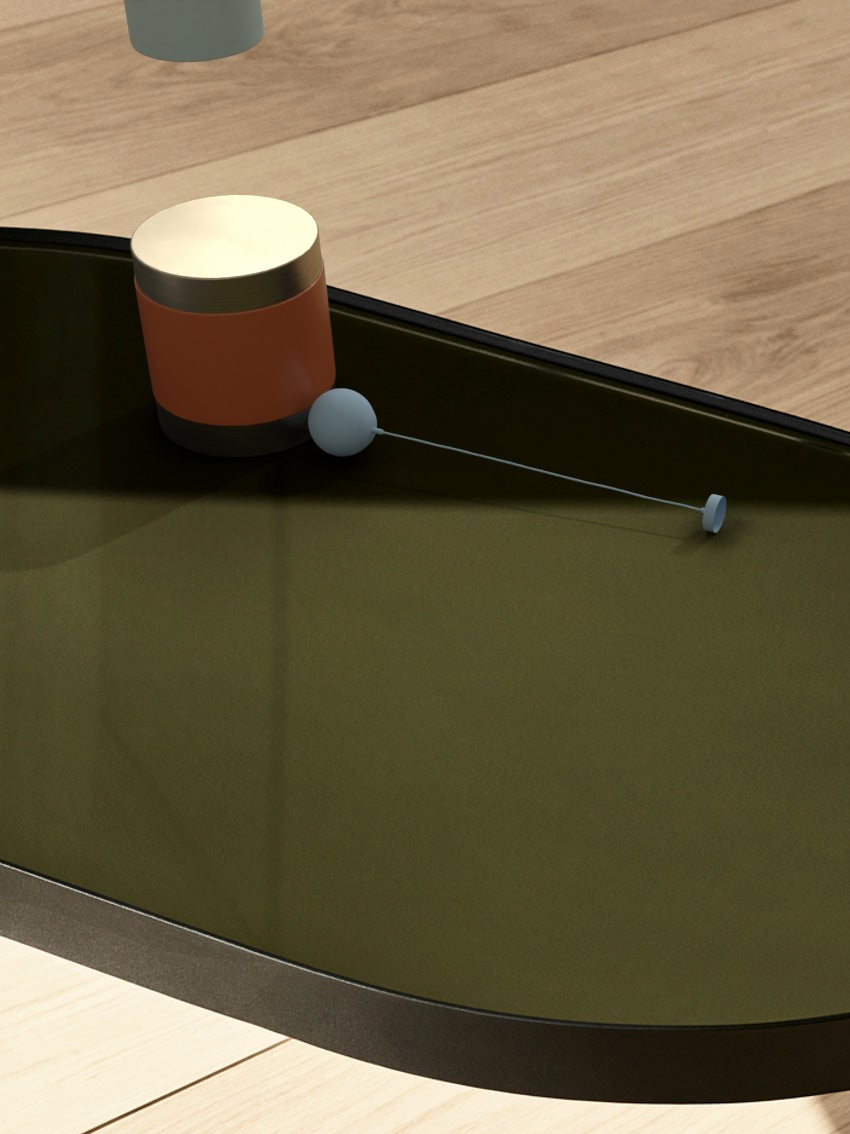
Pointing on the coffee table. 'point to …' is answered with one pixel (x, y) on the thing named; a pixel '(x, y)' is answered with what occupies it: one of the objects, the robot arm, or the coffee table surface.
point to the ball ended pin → (351, 426)
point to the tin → (234, 322)
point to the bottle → (193, 28)
